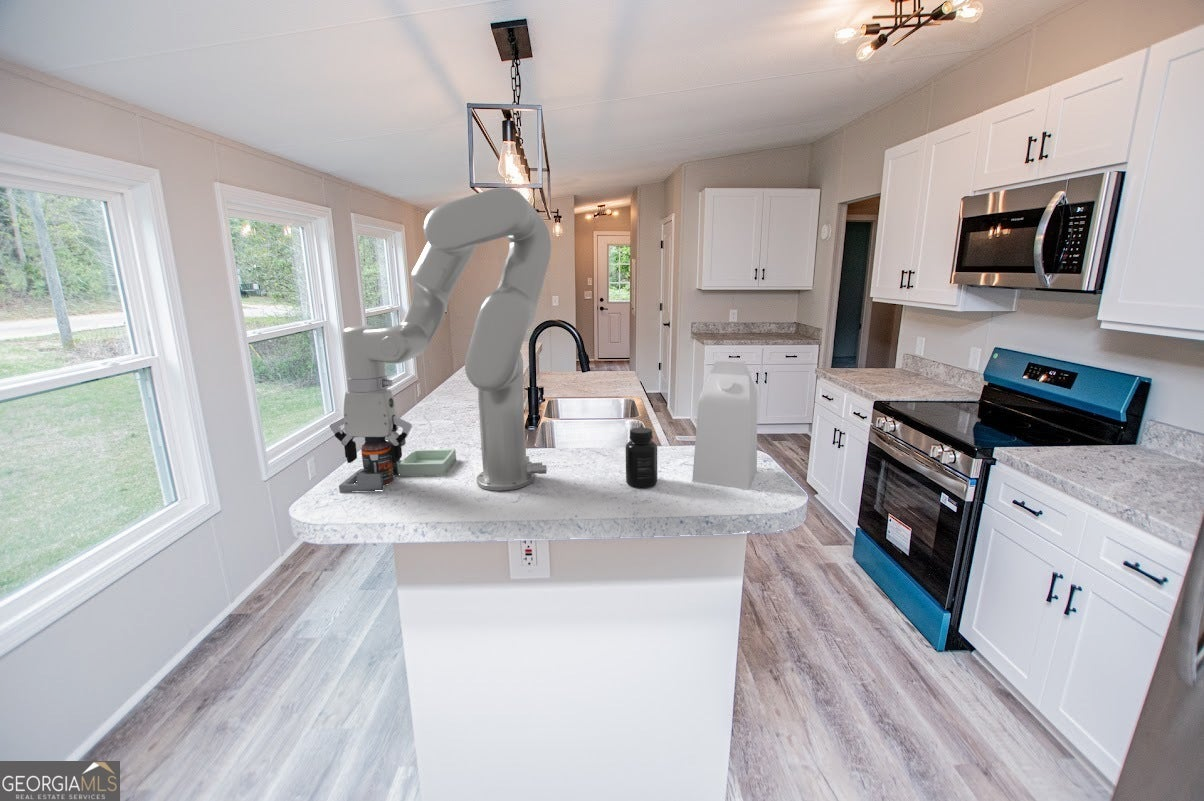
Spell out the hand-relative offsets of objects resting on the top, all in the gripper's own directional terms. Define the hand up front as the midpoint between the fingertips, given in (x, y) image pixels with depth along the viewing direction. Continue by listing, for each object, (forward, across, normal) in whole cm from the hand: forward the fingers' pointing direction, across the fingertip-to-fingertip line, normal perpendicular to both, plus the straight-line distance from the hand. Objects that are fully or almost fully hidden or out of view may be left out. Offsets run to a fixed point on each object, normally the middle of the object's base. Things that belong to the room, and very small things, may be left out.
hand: (374, 460), depth 111 cm
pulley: (+5, 0, -11) cm, 12 cm away
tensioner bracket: (+5, +1, 0) cm, 5 cm away
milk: (+3, -78, 0) cm, 78 cm away
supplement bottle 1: (+5, -1, 0) cm, 5 cm away
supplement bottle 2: (+4, -59, +3) cm, 59 cm away
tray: (+5, -9, -9) cm, 14 cm away
